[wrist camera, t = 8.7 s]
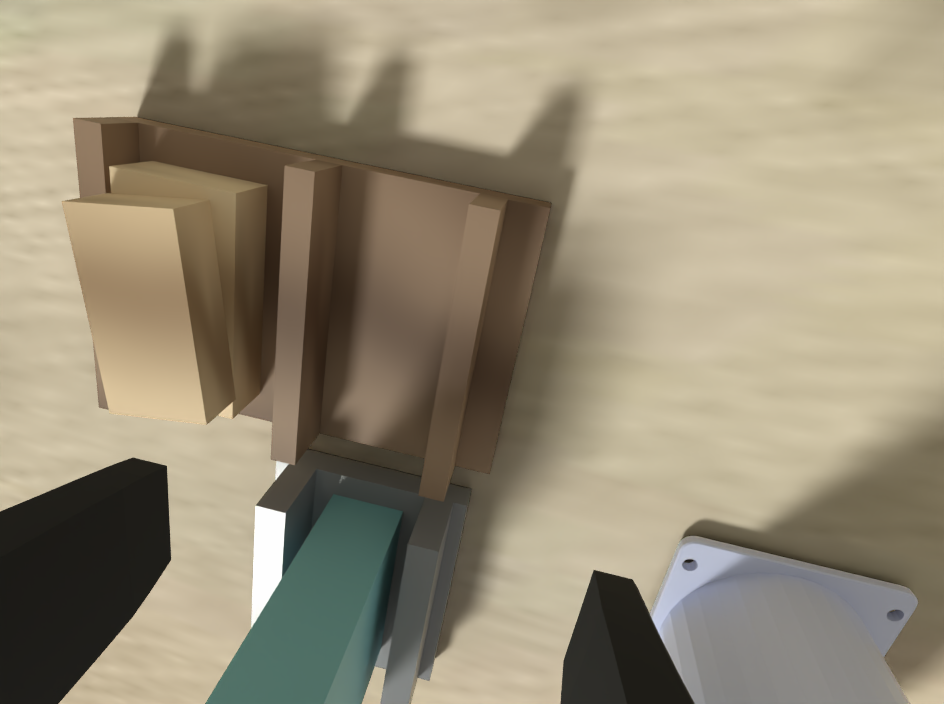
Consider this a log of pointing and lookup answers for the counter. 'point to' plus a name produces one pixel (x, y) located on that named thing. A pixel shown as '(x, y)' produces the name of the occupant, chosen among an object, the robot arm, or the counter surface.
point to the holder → (416, 564)
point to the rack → (365, 293)
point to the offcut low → (221, 254)
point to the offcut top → (153, 304)
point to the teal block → (321, 614)
